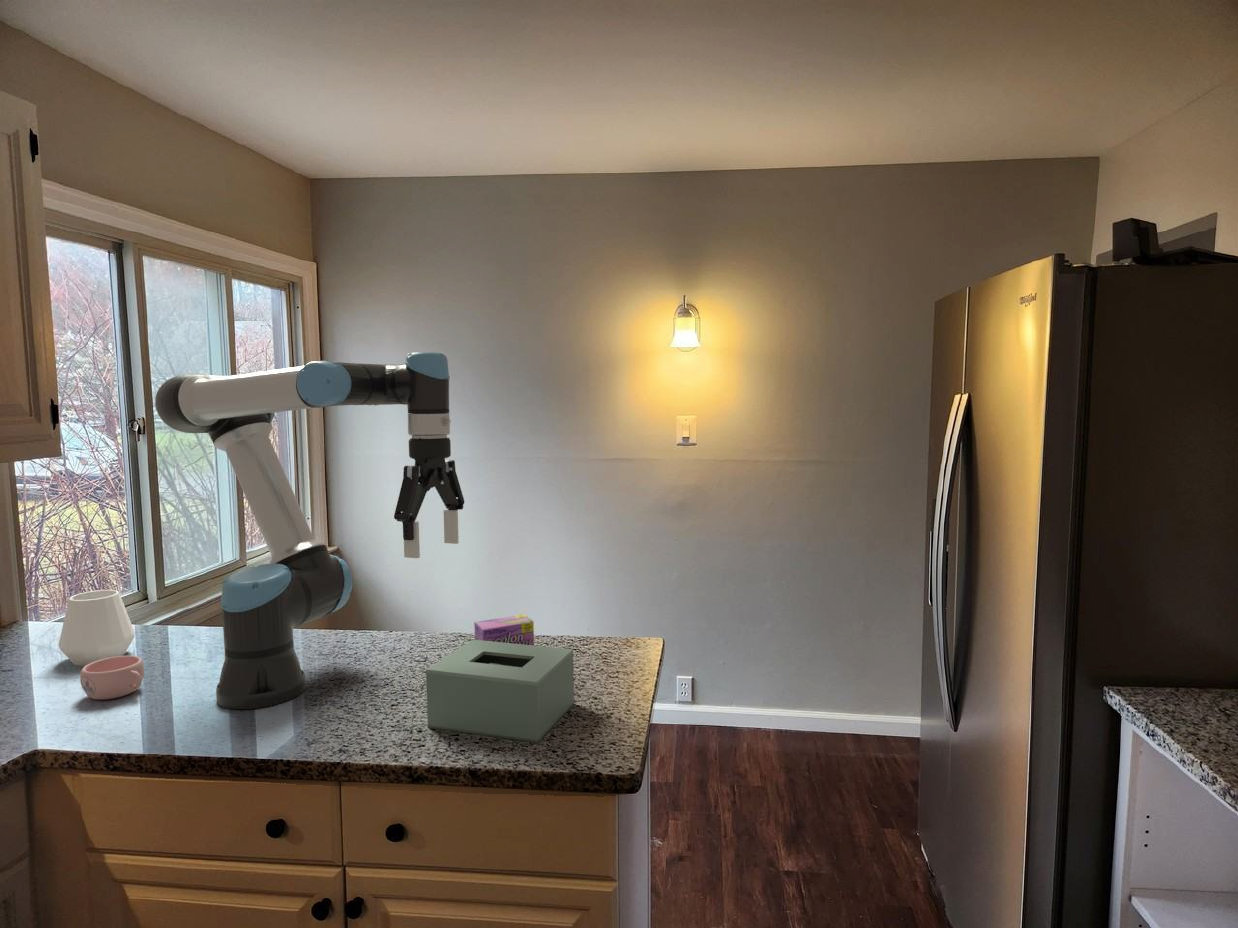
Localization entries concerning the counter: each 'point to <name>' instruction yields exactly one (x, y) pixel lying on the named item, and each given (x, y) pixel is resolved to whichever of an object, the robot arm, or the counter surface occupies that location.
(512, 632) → the box
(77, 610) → the white faceted vase
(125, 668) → the mug
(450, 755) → the counter surface
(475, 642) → the box
